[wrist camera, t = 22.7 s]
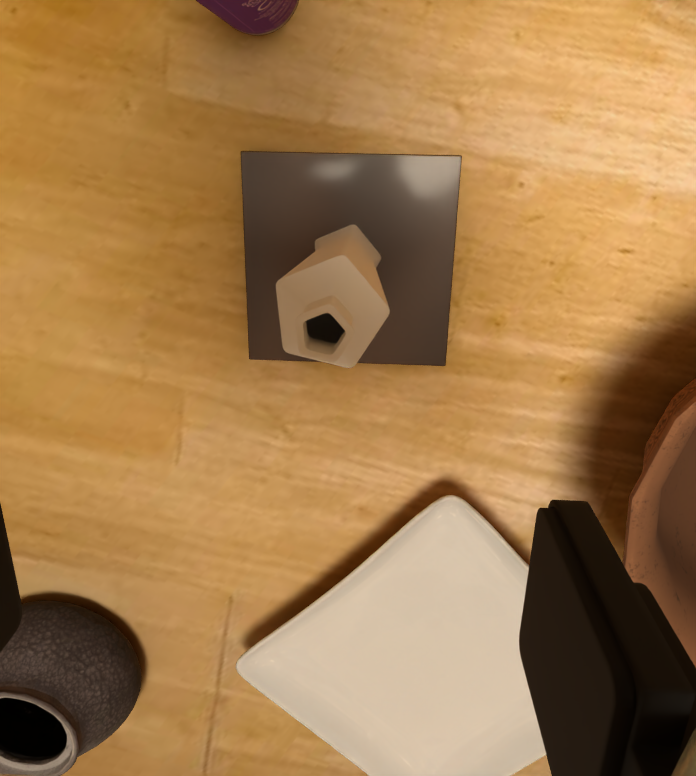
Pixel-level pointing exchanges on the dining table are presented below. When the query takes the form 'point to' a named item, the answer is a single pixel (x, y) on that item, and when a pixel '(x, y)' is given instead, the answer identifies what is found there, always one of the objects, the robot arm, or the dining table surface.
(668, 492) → the bowl
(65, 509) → the dining table surface
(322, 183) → the coaster
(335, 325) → the perfume bottle
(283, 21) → the container
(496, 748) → the plate
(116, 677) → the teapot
